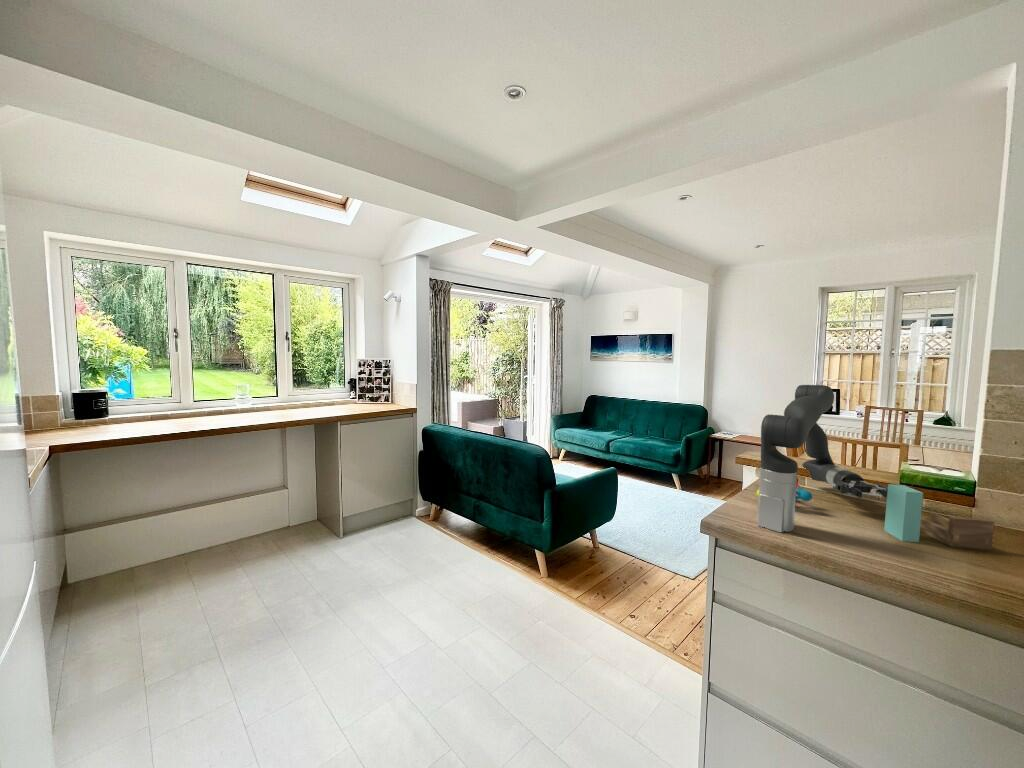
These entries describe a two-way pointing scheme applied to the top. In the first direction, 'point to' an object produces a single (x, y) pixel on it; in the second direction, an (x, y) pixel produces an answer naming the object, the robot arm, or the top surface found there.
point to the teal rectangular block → (903, 512)
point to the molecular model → (799, 493)
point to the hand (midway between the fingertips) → (876, 495)
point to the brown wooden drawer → (960, 531)
